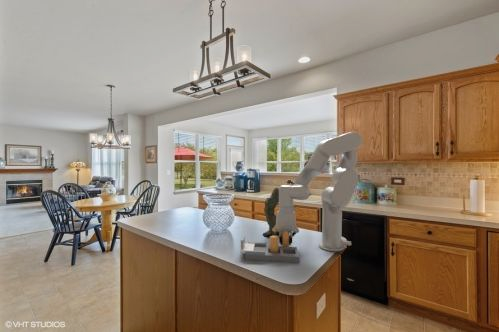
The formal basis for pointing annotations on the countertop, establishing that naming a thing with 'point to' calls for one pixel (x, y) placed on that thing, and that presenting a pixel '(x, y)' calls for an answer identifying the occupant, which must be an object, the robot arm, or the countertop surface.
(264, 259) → the housing
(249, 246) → the lid
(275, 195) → the green twisted sculpture
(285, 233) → the orange rounded peg
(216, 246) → the countertop surface
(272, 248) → the orange rounded capsule
